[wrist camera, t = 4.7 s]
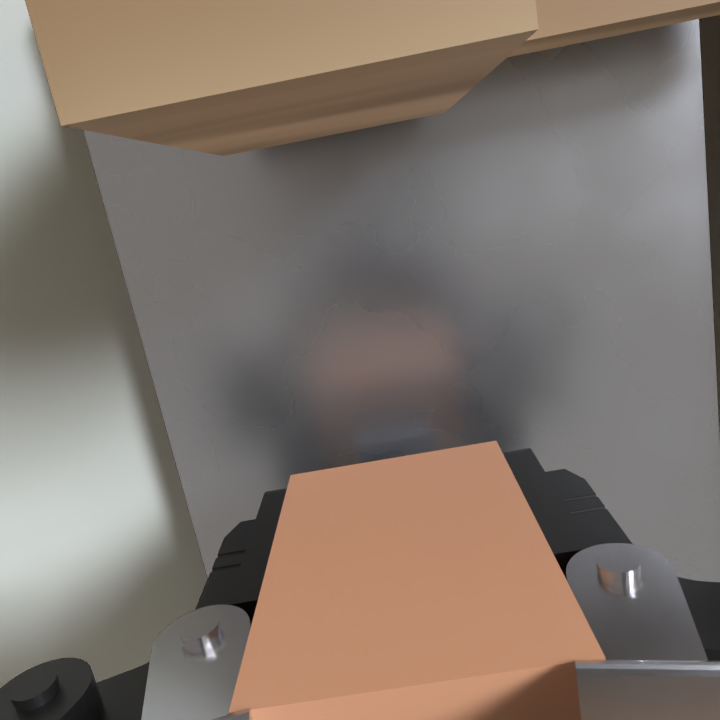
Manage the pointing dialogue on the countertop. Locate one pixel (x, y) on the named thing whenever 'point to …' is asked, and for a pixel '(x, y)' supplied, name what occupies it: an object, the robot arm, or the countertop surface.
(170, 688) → the robot arm
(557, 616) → the block
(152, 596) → the countertop surface
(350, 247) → the bolt plate
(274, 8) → the gauge rule
